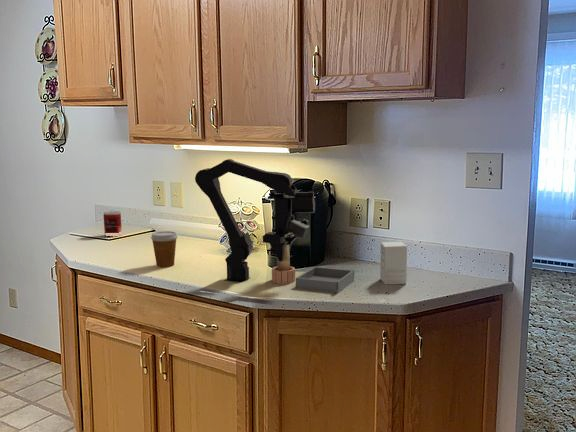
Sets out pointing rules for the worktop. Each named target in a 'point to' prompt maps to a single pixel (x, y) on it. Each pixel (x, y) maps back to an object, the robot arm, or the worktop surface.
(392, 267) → the supplement box
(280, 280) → the pink short hollow cylinder
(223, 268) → the worktop surface
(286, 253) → the dowel
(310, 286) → the tray
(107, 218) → the canned food
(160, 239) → the disposable coffee cup
